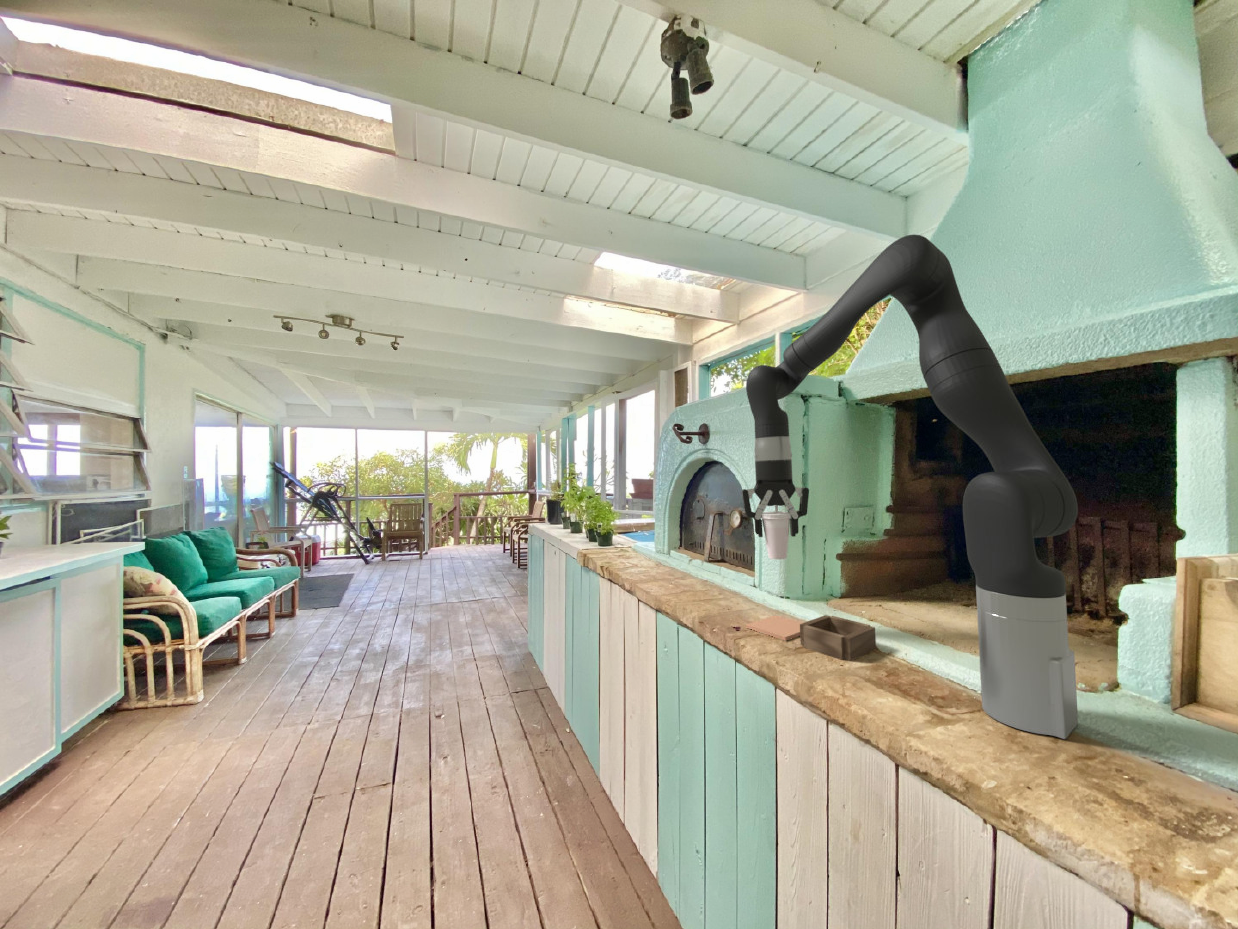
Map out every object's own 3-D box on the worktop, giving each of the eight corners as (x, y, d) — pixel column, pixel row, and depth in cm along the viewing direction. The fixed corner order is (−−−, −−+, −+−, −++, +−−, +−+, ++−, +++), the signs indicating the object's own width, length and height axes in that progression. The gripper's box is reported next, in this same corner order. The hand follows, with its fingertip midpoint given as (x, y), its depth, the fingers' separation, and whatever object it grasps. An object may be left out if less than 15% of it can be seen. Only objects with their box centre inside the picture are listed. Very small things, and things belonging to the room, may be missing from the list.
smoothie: (798, 557, 99) (795, 491, 100) (784, 561, 95) (781, 493, 95) (771, 554, 104) (768, 491, 104) (756, 558, 100) (753, 493, 100)
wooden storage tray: (877, 648, 87) (876, 626, 87) (848, 662, 82) (847, 639, 82) (828, 633, 96) (827, 614, 96) (798, 645, 90) (797, 625, 90)
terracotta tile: (815, 630, 98) (814, 626, 98) (785, 641, 92) (785, 637, 92) (775, 618, 106) (775, 615, 106) (746, 628, 101) (746, 624, 101)
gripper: (804, 457, 102) (808, 533, 102) (737, 460, 105) (740, 534, 105) (812, 456, 95) (815, 538, 94) (739, 460, 97) (743, 539, 97)
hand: (776, 536), depth 100 cm, fingers closed on smoothie, 6 cm apart
